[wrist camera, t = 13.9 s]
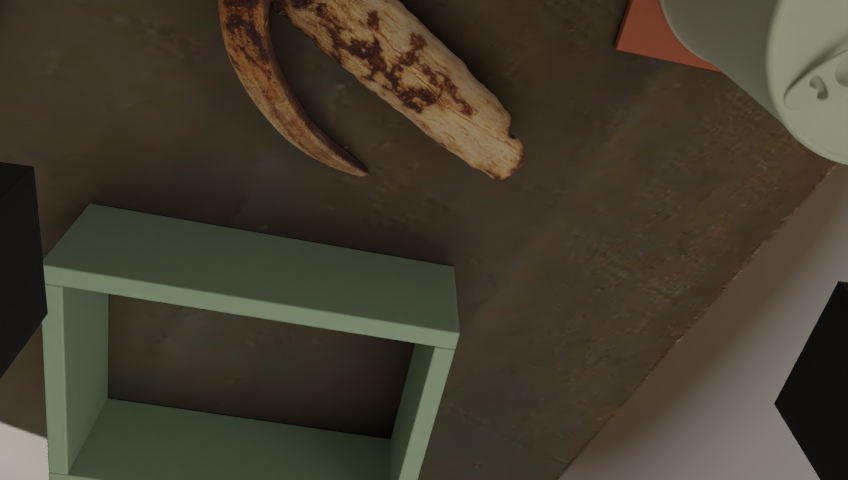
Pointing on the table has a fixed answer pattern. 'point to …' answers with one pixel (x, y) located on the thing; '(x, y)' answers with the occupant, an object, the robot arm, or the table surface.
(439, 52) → the lashed bone hook
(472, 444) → the table surface
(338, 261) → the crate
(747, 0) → the can
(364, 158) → the table surface
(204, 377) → the table surface
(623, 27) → the mat
